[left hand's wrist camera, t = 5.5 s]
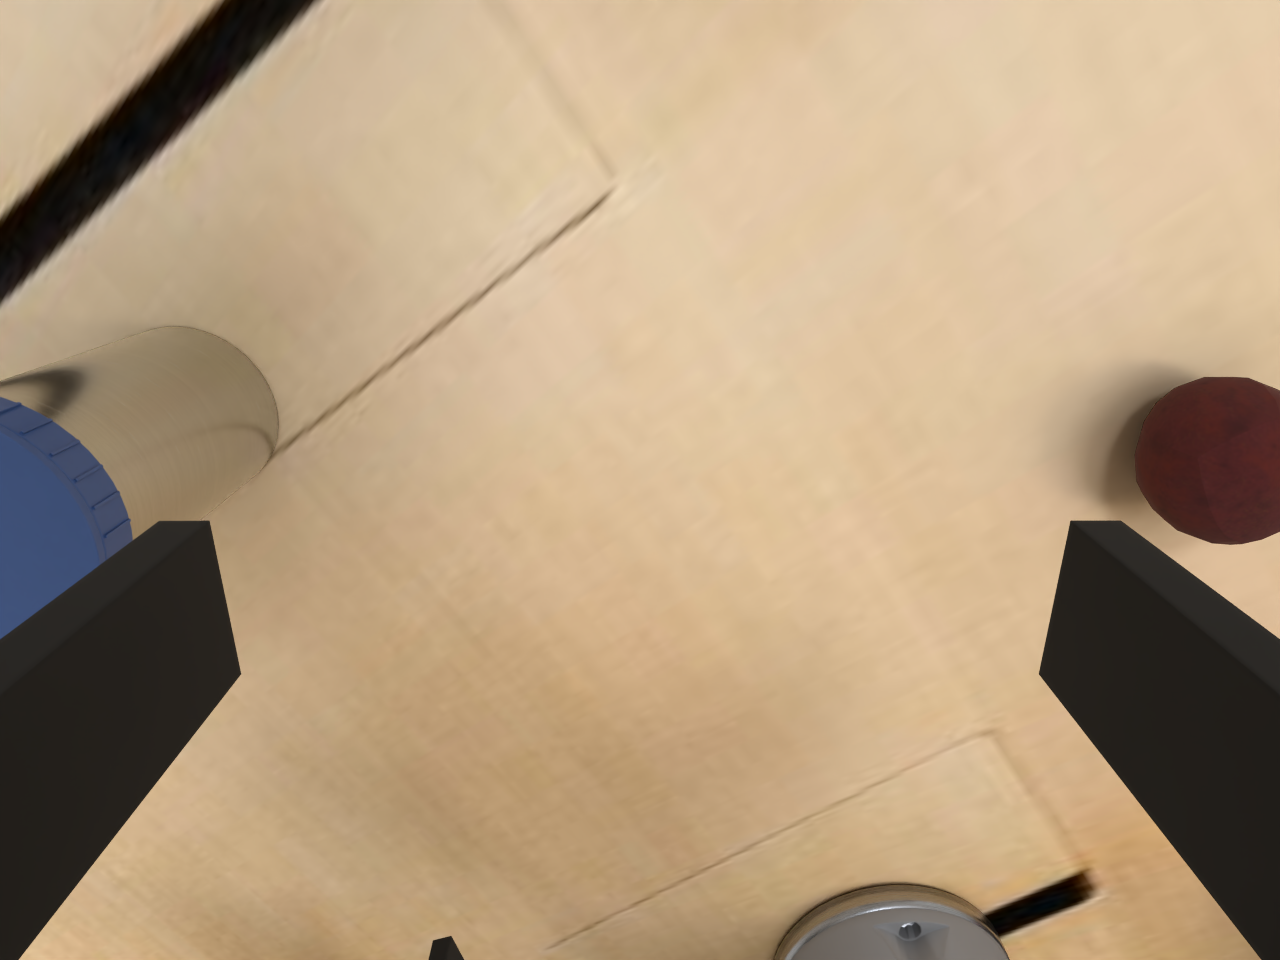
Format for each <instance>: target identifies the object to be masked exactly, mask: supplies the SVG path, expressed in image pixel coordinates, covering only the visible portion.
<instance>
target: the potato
mask: <svg viewBox="0 0 1280 960" xmlns="http://www.w3.org/2000/svg"><path fill="white" fill-rule="evenodd" d="M1135 466H1136V480H1137V483H1138V485H1139V487H1140V490H1141V492H1142V493H1143V495H1144V496H1145V498H1146V499H1147V501H1148V502H1149V504H1150V506H1151V507H1152V509H1153V510H1155V511H1156V512H1157V513H1158V514H1159V515H1160V516H1161V517H1162V518H1163V519H1164V520H1166V521H1167V522H1168V523H1169V524H1170V525H1172V526H1173V527H1174V528H1175V529H1176V530H1178V531H1180V532H1183V533H1186V534H1188V535H1191V536H1194V537H1196V538H1199V539H1202V540H1205V541H1207V542H1210V543H1216V544H1229V545H1233V544H1244V543H1248V542H1253V541H1257V540H1262V539H1264V538H1266V537H1269V536H1271V535H1273V534H1276V533H1278V532H1280V390H1278V389H1275V388H1273V387H1270V386H1267V385H1265V384H1262V383H1260V382H1257V381H1255V380H1252V379H1250V378H1241V377H1203V378H1201V379H1198V380H1195V381H1192V382H1189V383H1186V384H1184V385H1181V386H1178V387H1176V388H1174V389H1173V390H1171V391H1170V392H1169V393H1168V394H1167V395H1165V396H1164V397H1163V398H1162V399H1160V400H1159V401H1158V402H1157V403H1156V404H1155V406H1154V407H1153V409H1152V410H1151V412H1150V413H1149V415H1148V416H1147V418H1146V419H1145V421H1144V424H1143V427H1142V430H1141V434H1140V437H1139V441H1138V444H1137V448H1136V452H1135Z"/></svg>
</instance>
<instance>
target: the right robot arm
mask: <svg viewBox="0 0 1280 960" xmlns="http://www.w3.org/2000/svg"><path fill="white" fill-rule="evenodd" d="M429 960H464V959H463V957H462V955H461V953H460V951H459V949H458V948H457V946H456V944H455V942H454V940H453V938H452V936H449V937H445V938H441V939H437V940H433V943H432V947H431V952H430V956H429ZM774 960H1009V957H1008V955H1007V953H1006V951H1005V949H1004V946H1003V944H1002V942H1001V940H1000V938H999V936H998V933H997V931H996V930H995V928H994V926H993V925H992V923H991V922H990V921H989V920H988V918H987V917H986V916H985V915H984V914H983V913H982V912H981V911H979V910H978V909H977V908H976V907H974V906H973V905H971V904H970V903H968V902H967V901H965V900H963V899H961V898H959V897H957V896H955V895H952V894H950V893H947V892H944V891H941V890H937V889H933V888H928V887H922V886H913V885H886V886H877V887H871V888H866V889H862V890H858V891H854V892H851V893H848V894H845V895H842V896H840V897H837V898H835V899H833V900H830V901H828V902H827V903H825V904H823V905H821V906H819V907H818V908H816V909H814V910H813V911H811V912H810V913H809V914H807V915H806V916H805V917H803V918H802V919H801V920H800V921H799V922H798V923H797V924H796V925H795V926H794V927H793V928H792V929H791V930H790V931H789V933H788V934H787V935H786V937H785V938H784V939H783V941H782V943H781V945H780V946H779V948H778V951H777V953H776V955H775V959H774Z"/></svg>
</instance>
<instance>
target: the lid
mask: <svg viewBox="0 0 1280 960" xmlns="http://www.w3.org/2000/svg"><path fill="white" fill-rule="evenodd" d="M80 442H81V441H80V440H79V439H76V438H75V437H74V436H73V435H71V434H70V433H69V432H67V431H66V430H65V429H63V428H62V427H61V426H59V425H58V424H57V423H55V422H53V420H52V419H51V418H47V417H45V416H44V415H42V414H40V413H38V412H36V411H34V410H32V409H30V408H28V407H26V406H24V405H22V403H20V402H17V403H16V402H14V401H11V400H8V399H5V398H3V397H0V639H1V638H3V637H4V636H5V635H7V634H8V633H9V632H11V631H12V630H13V629H15V628H16V627H17V626H19V625H20V624H21V623H23V622H24V621H25V620H27V619H28V618H29V617H31V616H32V615H33V614H35V613H36V612H37V611H39V610H40V609H41V608H43V607H44V606H45V605H47V604H48V603H50V602H51V601H52V600H54V599H55V598H56V597H58V596H59V595H60V594H62V593H63V592H64V591H66V590H67V589H68V588H70V587H71V586H72V585H74V584H75V583H76V582H78V581H79V580H80V579H82V578H83V577H84V576H86V575H87V574H88V573H90V572H91V571H92V570H94V569H95V568H96V567H98V566H99V565H100V564H102V563H103V562H105V561H106V560H107V559H109V558H110V557H111V556H113V555H114V554H115V553H117V552H118V551H119V550H121V549H122V548H123V547H125V546H126V545H127V544H129V543H130V542H131V541H133V536H132V528H131V524H130V522H131V519H129V516H128V513H127V510H126V508H125V505H124V502H123V500H122V497H121V495H120V491H118V490H117V488H116V486H115V484H114V482H113V481H112V479H111V478H110V476H109V475H108V474H107V472H106V471H105V469H104V468H103V465H102V464H100V463H99V462H98V460H97V459H96V458H95V457H94V456H93V455H92V453H91V452H90V451H89V450H88V449H87V448H86V447H85V446H84V445H83V444H81V443H80Z"/></svg>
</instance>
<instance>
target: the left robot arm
mask: <svg viewBox="0 0 1280 960" xmlns="http://www.w3.org/2000/svg"><path fill="white" fill-rule="evenodd" d="M240 675H241V671H240V666H239V661H238V657H237V652H236V647H235V642H234V637H233V632H232V628H231V623H230V618H229V613H228V608H227V603H226V599H225V594H224V589H223V584H222V579H221V574H220V570H219V565H218V560H217V555H216V550H215V545H214V541H213V536H212V531H211V526H210V521H158V522H157V523H155V524H154V525H153V526H151V527H150V528H149V529H147V530H146V531H145V532H143V533H142V534H141V535H139V536H138V537H137V538H135V539H134V540H133V541H131V542H130V543H129V544H127V545H126V546H125V547H123V548H122V549H121V550H119V551H118V552H117V553H115V554H114V555H113V556H111V557H110V558H109V559H107V560H106V561H105V562H103V563H102V564H100V565H99V566H98V567H96V568H95V569H94V570H92V571H91V572H90V573H88V574H87V575H86V576H84V577H83V578H82V579H80V580H79V581H78V582H76V583H75V584H74V585H72V586H71V587H70V588H68V589H67V590H66V591H64V592H63V593H62V594H60V595H59V596H58V597H56V598H55V599H54V600H52V601H51V602H50V603H48V604H47V605H45V606H44V607H43V608H41V609H40V610H39V611H37V612H36V613H35V614H33V615H32V616H31V617H29V618H28V619H27V620H25V621H24V622H23V623H21V624H20V625H19V626H17V627H16V628H15V629H13V630H12V631H11V632H9V633H8V634H7V635H5V636H4V637H3V638H1V639H0V960H19V958H20V957H21V956H22V955H23V953H24V952H25V951H26V949H27V948H28V947H29V946H30V944H31V943H32V942H33V940H34V939H35V938H36V937H37V935H38V934H39V933H40V931H41V930H42V929H43V928H44V926H45V925H46V924H47V922H48V921H49V920H50V919H51V917H52V916H53V915H54V913H55V912H56V911H57V910H58V908H59V907H60V906H61V905H62V903H63V902H64V901H65V899H66V898H67V897H68V896H69V894H70V893H71V892H72V890H73V889H74V888H75V887H76V885H77V884H78V883H79V881H80V880H81V879H82V878H83V876H84V875H85V874H86V872H87V871H88V870H89V869H90V867H91V866H92V865H93V863H94V862H95V861H96V860H97V858H98V857H99V856H100V854H101V853H102V852H103V851H104V849H105V848H106V847H107V845H108V844H109V843H110V842H111V840H112V839H113V838H114V837H115V835H116V834H117V833H118V831H119V830H120V829H121V828H122V826H123V825H124V824H125V822H126V821H127V820H128V819H129V817H130V816H131V815H132V813H133V812H134V811H135V810H136V808H137V807H138V806H139V804H140V803H141V802H142V801H143V799H144V798H145V797H146V795H147V794H148V793H149V792H150V790H151V789H152V788H153V786H154V785H155V784H156V783H157V781H158V780H159V779H160V777H161V776H162V775H163V774H164V772H165V771H166V770H167V769H168V767H169V766H170V765H171V763H172V762H173V761H174V760H175V758H176V757H177V756H178V754H179V753H180V752H181V751H182V749H183V748H184V747H185V745H186V744H187V743H188V742H189V740H190V739H191V738H192V736H193V735H194V734H195V733H196V731H197V730H198V729H199V727H200V726H201V725H202V724H203V722H204V721H205V720H206V718H207V717H208V716H209V715H210V713H211V712H212V711H213V709H214V708H215V707H216V706H217V704H218V703H219V702H220V700H221V699H222V698H223V697H224V695H225V694H226V693H227V692H228V690H229V689H230V688H231V686H232V685H233V684H234V683H235V681H236V680H237V679H238V677H239V676H240ZM1039 675H1040V676H1041V677H1042V679H1043V680H1044V681H1045V683H1046V684H1047V685H1048V686H1049V688H1050V689H1051V690H1052V692H1053V693H1054V694H1055V695H1056V697H1057V698H1058V699H1059V701H1060V702H1061V703H1062V704H1063V706H1064V707H1065V708H1066V709H1067V711H1068V712H1069V713H1070V715H1071V716H1072V717H1073V718H1074V720H1075V721H1076V722H1077V724H1078V725H1079V726H1080V727H1081V729H1082V730H1083V731H1084V733H1085V734H1086V735H1087V736H1088V738H1089V739H1090V740H1091V742H1092V743H1093V744H1094V745H1095V747H1096V748H1097V749H1098V751H1099V752H1100V753H1101V754H1102V756H1103V757H1104V758H1105V760H1106V761H1107V762H1108V763H1109V765H1110V766H1111V767H1112V769H1113V770H1114V771H1115V772H1116V774H1117V775H1118V776H1119V777H1120V779H1121V780H1122V781H1123V783H1124V784H1125V785H1126V786H1127V788H1128V789H1129V790H1130V792H1131V793H1132V794H1133V795H1134V797H1135V798H1136V799H1137V801H1138V802H1139V803H1140V804H1141V806H1142V807H1143V808H1144V810H1145V811H1146V812H1147V813H1148V815H1149V816H1150V817H1151V819H1152V820H1153V821H1154V822H1155V824H1156V825H1157V826H1158V828H1159V829H1160V830H1161V831H1162V833H1163V834H1164V835H1165V837H1166V838H1167V839H1168V840H1169V842H1170V843H1171V844H1172V845H1173V847H1174V848H1175V849H1176V851H1177V852H1178V853H1179V854H1180V856H1181V857H1182V858H1183V860H1184V861H1185V862H1186V863H1187V865H1188V866H1189V867H1190V869H1191V870H1192V871H1193V872H1194V874H1195V875H1196V876H1197V878H1198V879H1199V880H1200V881H1201V883H1202V884H1203V885H1204V887H1205V888H1206V889H1207V890H1208V892H1209V893H1210V894H1211V896H1212V897H1213V898H1214V899H1215V901H1216V902H1217V903H1218V905H1219V906H1220V907H1221V908H1222V910H1223V911H1224V912H1225V913H1226V915H1227V916H1228V917H1229V919H1230V920H1231V921H1232V922H1233V924H1234V925H1235V926H1236V928H1237V929H1238V930H1239V931H1240V933H1241V934H1242V935H1243V937H1244V938H1245V939H1246V940H1247V942H1248V943H1249V944H1250V946H1251V947H1252V948H1253V949H1254V951H1255V952H1256V953H1257V955H1258V956H1259V957H1260V958H1261V960H1280V639H1279V638H1277V637H1276V636H1275V635H1273V634H1272V633H1271V632H1269V631H1268V630H1267V629H1265V628H1264V627H1263V626H1261V625H1260V624H1259V623H1257V622H1256V621H1255V620H1253V619H1252V618H1251V617H1249V616H1248V615H1247V614H1245V613H1244V612H1243V611H1241V610H1240V609H1239V608H1237V607H1236V606H1235V605H1233V604H1232V603H1230V602H1229V601H1228V600H1226V599H1225V598H1224V597H1222V596H1221V595H1220V594H1218V593H1217V592H1216V591H1214V590H1213V589H1212V588H1210V587H1209V586H1208V585H1206V584H1205V583H1204V582H1202V581H1201V580H1200V579H1198V578H1197V577H1196V576H1194V575H1193V574H1192V573H1190V572H1189V571H1188V570H1186V569H1185V568H1184V567H1182V566H1181V565H1180V564H1178V563H1177V562H1175V561H1174V560H1173V559H1171V558H1170V557H1169V556H1167V555H1166V554H1165V553H1163V552H1162V551H1161V550H1159V549H1158V548H1157V547H1155V546H1154V545H1153V544H1151V543H1150V542H1149V541H1147V540H1146V539H1145V538H1143V537H1142V536H1141V535H1139V534H1138V533H1137V532H1135V531H1134V530H1133V529H1131V528H1130V527H1129V526H1127V525H1126V524H1125V523H1123V522H1122V521H1070V526H1069V531H1068V536H1067V541H1066V545H1065V550H1064V555H1063V560H1062V565H1061V570H1060V574H1059V579H1058V584H1057V589H1056V594H1055V599H1054V603H1053V608H1052V613H1051V618H1050V623H1049V628H1048V632H1047V637H1046V642H1045V647H1044V652H1043V657H1042V661H1041V666H1040V671H1039Z"/></svg>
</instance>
